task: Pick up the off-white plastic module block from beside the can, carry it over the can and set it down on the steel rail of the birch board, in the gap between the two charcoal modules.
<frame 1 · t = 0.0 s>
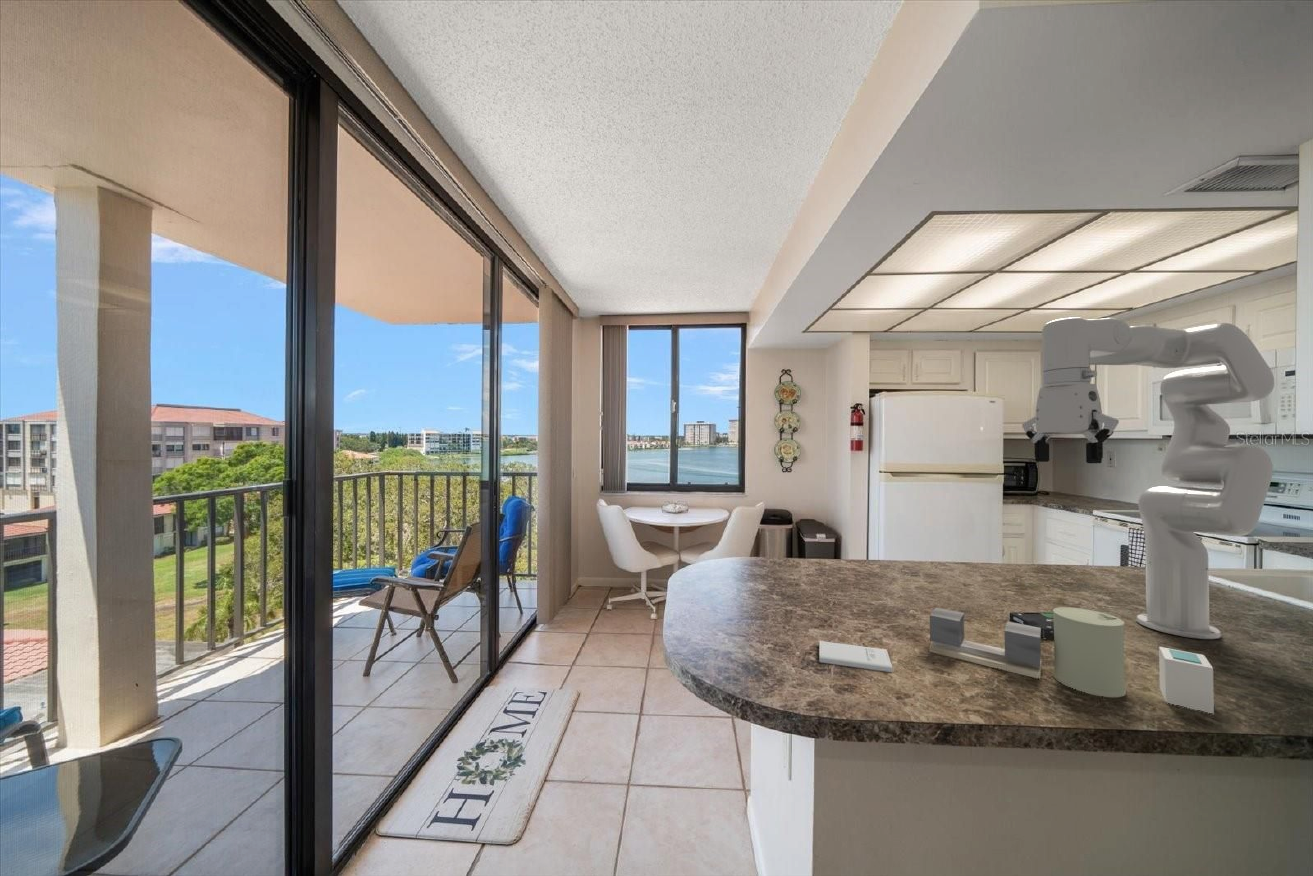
hand: (1066, 462, 98), 37 cm above the countertop, tool pointing down, fingers open, 9 cm apart
module: (1185, 701, 76), on the countertop
can: (1088, 684, 81), on the countertop
disk drive: (1059, 633, 105), on the countertop
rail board: (983, 658, 91), on the countertop
external hard drive: (853, 661, 91), on the countertop
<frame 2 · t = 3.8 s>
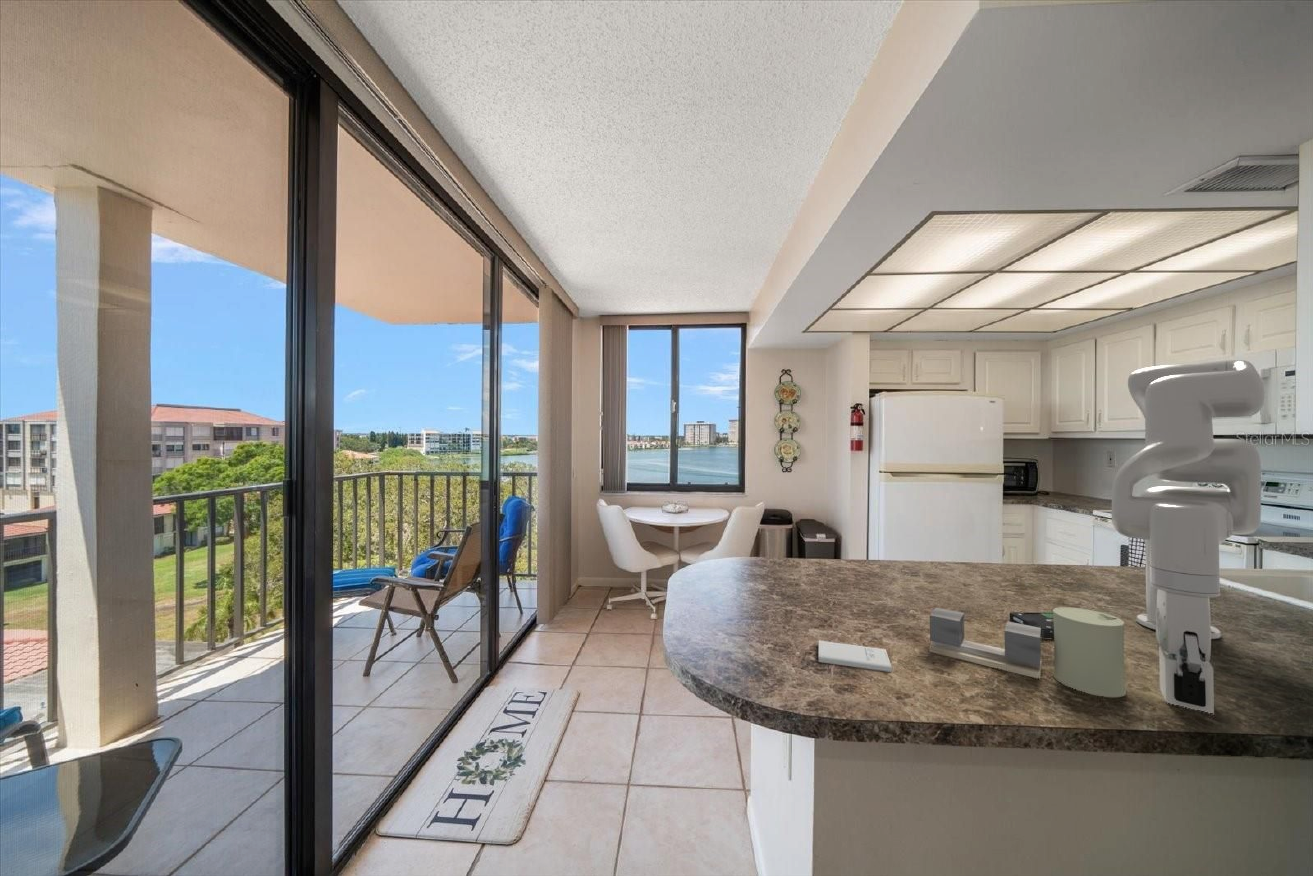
hand: (1185, 693, 76), 1 cm above the countertop, tool pointing down, fingers closed on module, 6 cm apart
module: (1185, 700, 76), on the countertop, touching gripper
everything else where it was.
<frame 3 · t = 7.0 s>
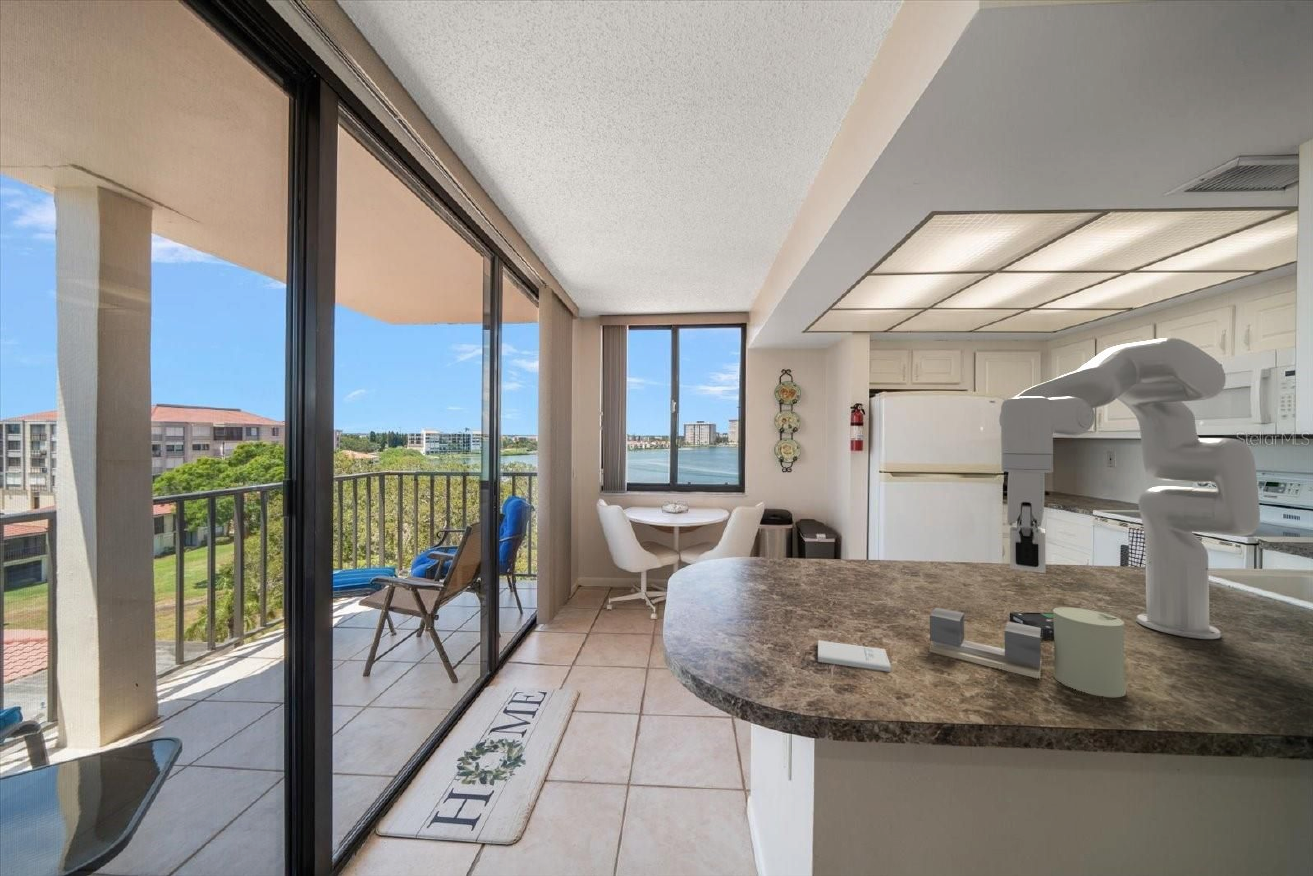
hand: (1027, 561, 87), 19 cm above the countertop, tool pointing down, fingers closed on module, 6 cm apart
module: (1027, 567, 87), point 18 cm above the countertop, touching gripper
everything else where it was.
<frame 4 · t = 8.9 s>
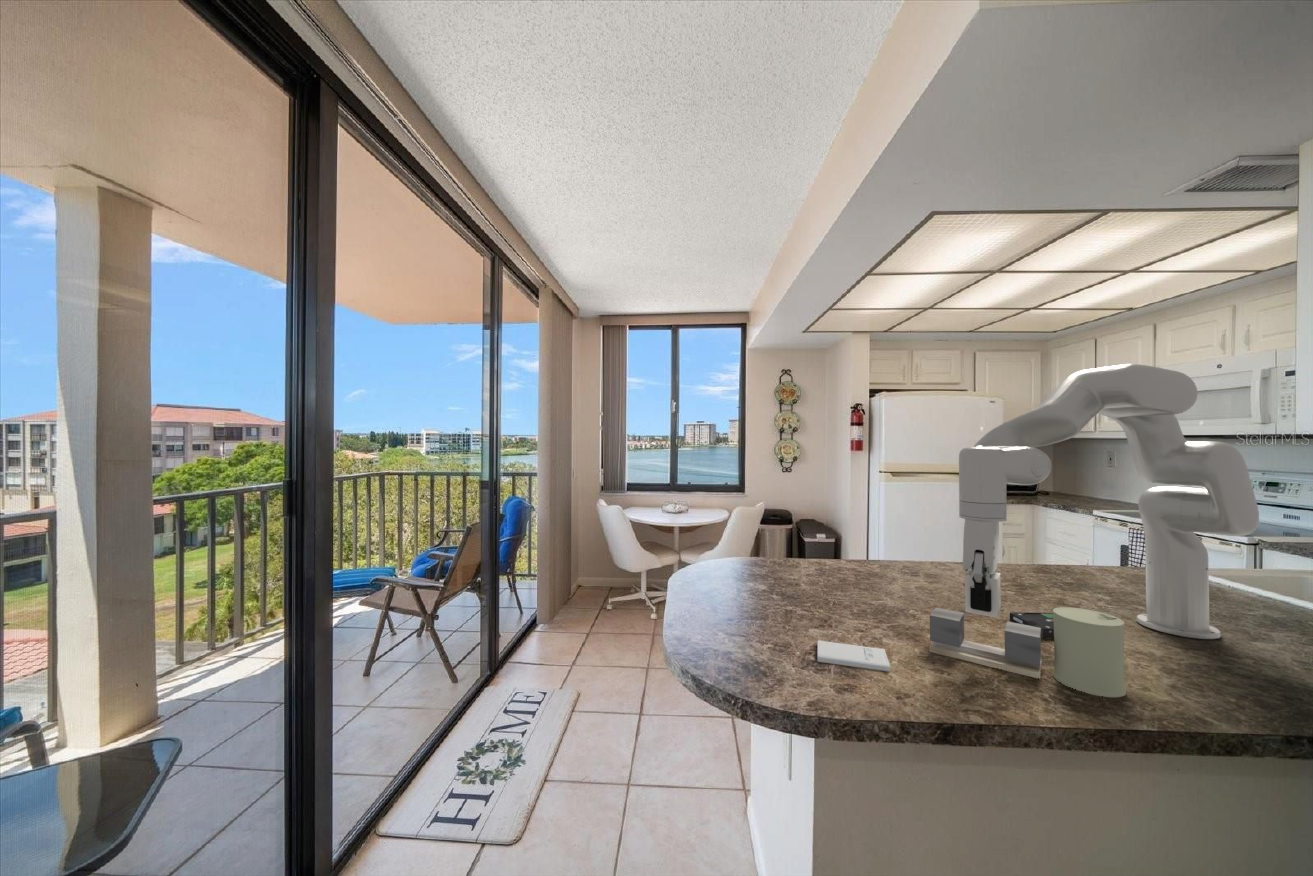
hand: (983, 604, 91), 10 cm above the countertop, tool pointing down, fingers closed on module, 6 cm apart
module: (983, 610, 91), point 9 cm above the countertop, touching gripper
everything else where it was.
when the fingers open (5 cm above the countertop, at t = 10.5 s): module drops 2 cm, resting on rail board.
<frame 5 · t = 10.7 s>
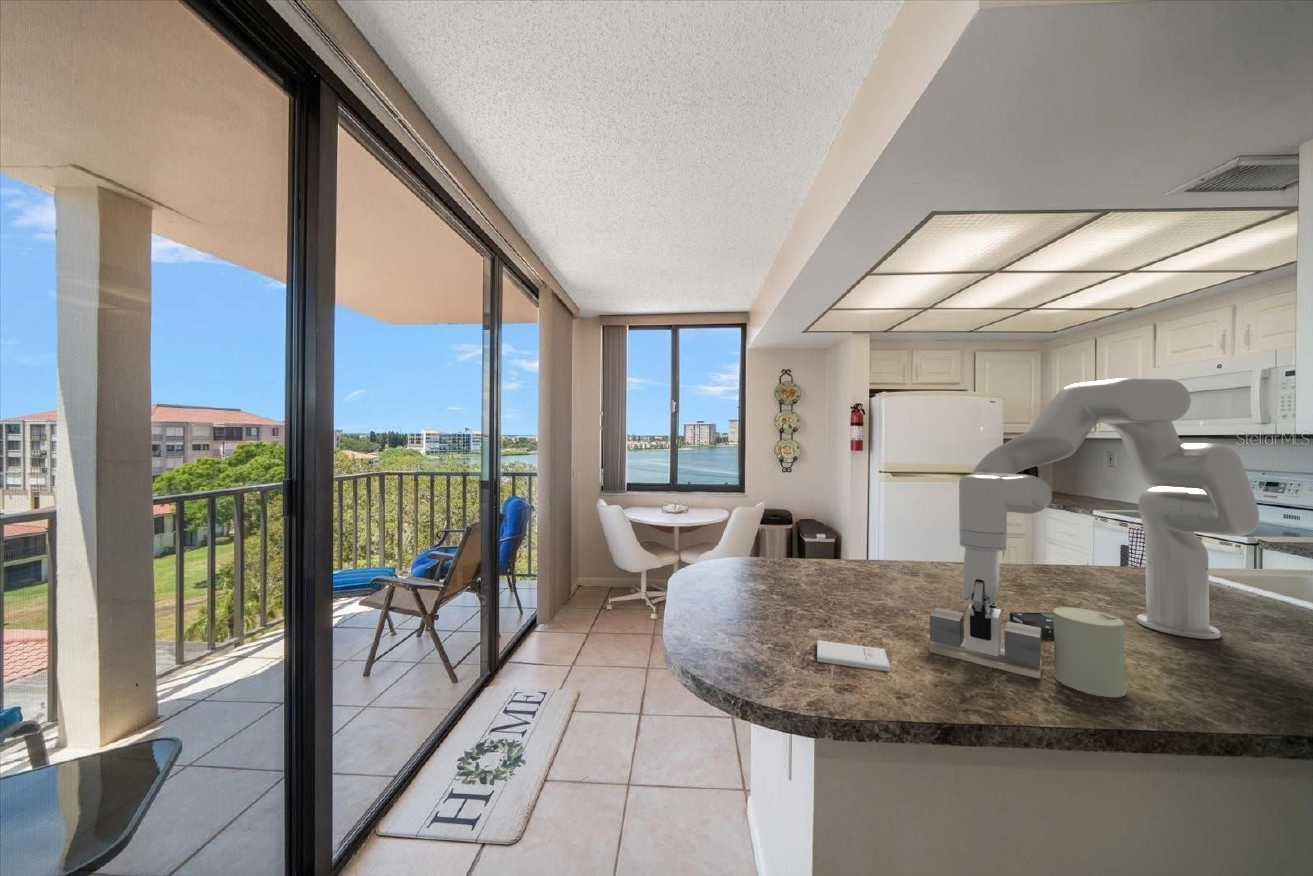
hand: (983, 631, 91), 5 cm above the countertop, tool pointing down, fingers open, 8 cm apart
module: (983, 647, 91), point 2 cm above the countertop, touching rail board
everything else where it was.
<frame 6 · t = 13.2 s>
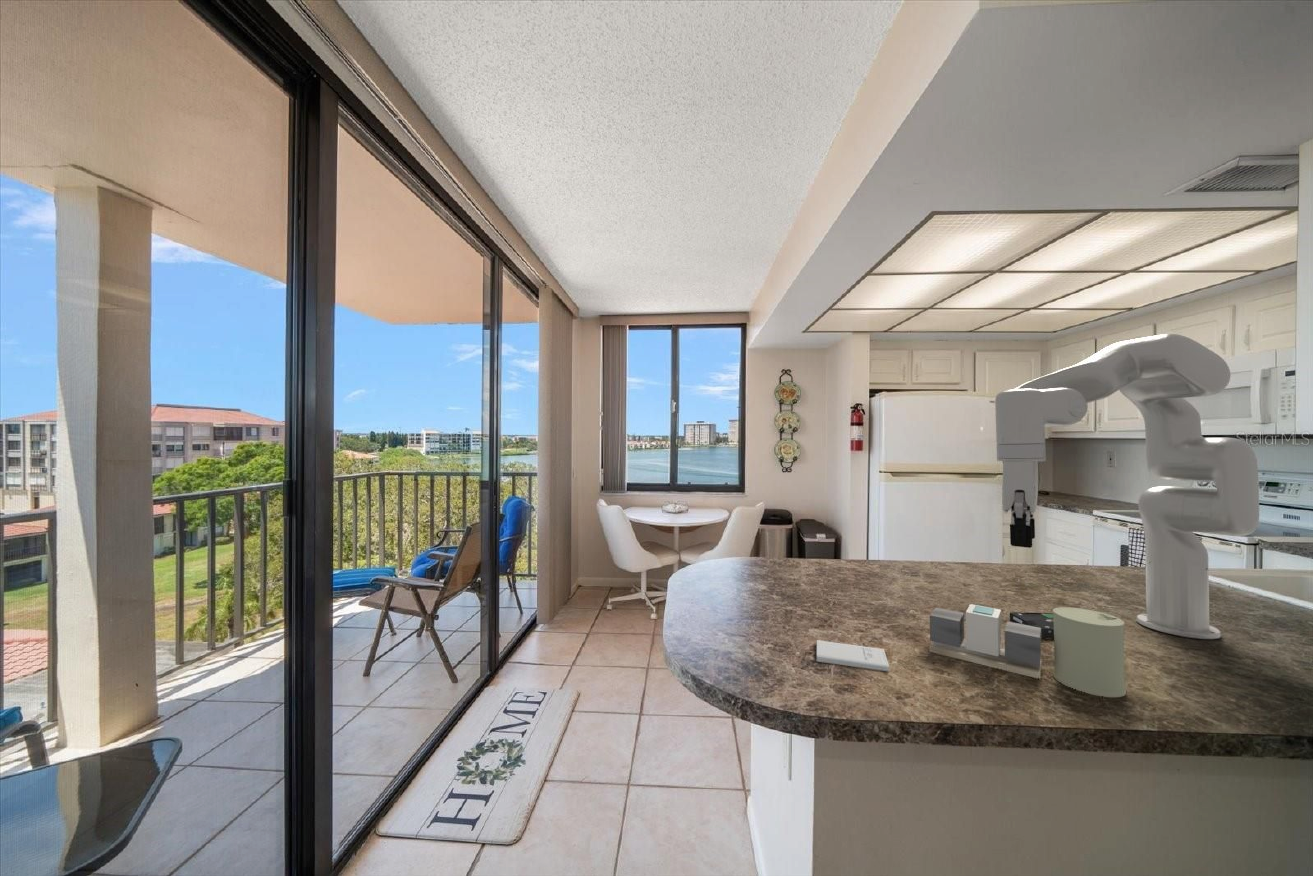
hand: (1023, 542, 92), 22 cm above the countertop, tool pointing down, fingers open, 9 cm apart
nothing on the countertop moved.
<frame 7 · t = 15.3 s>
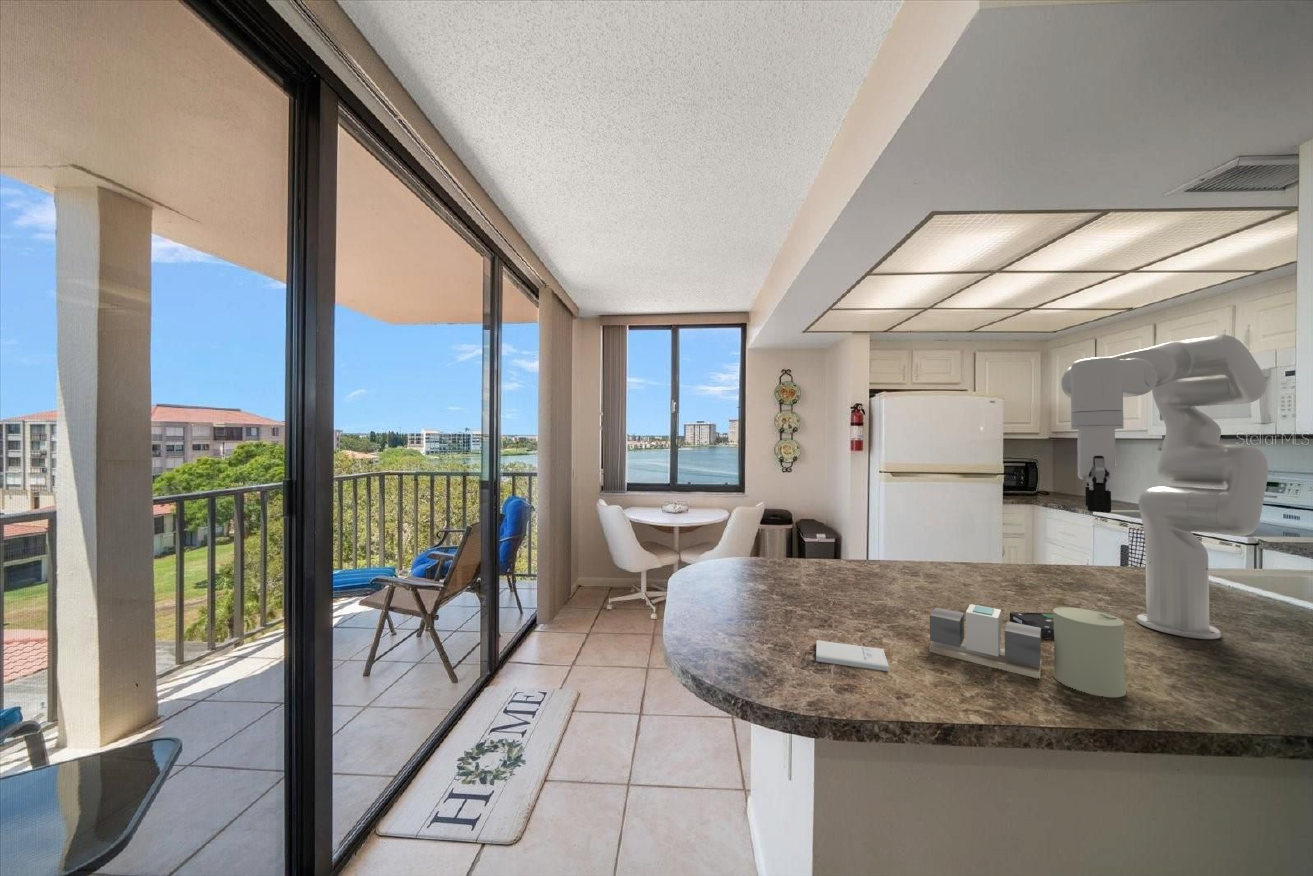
hand: (1097, 509, 93), 28 cm above the countertop, tool pointing down, fingers open, 9 cm apart
nothing on the countertop moved.
at the end: module 0.1 cm off-centre on the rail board, point 2.0 cm above the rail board's base; module tilted 0°; the gripper is holding nothing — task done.
